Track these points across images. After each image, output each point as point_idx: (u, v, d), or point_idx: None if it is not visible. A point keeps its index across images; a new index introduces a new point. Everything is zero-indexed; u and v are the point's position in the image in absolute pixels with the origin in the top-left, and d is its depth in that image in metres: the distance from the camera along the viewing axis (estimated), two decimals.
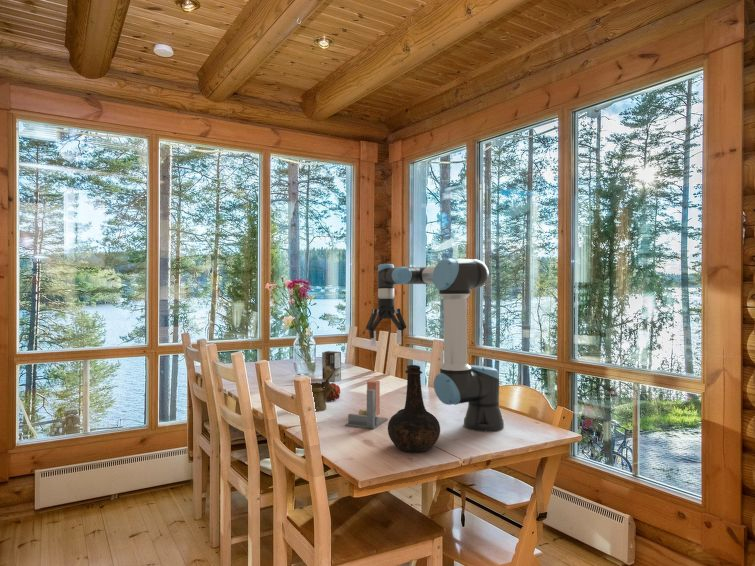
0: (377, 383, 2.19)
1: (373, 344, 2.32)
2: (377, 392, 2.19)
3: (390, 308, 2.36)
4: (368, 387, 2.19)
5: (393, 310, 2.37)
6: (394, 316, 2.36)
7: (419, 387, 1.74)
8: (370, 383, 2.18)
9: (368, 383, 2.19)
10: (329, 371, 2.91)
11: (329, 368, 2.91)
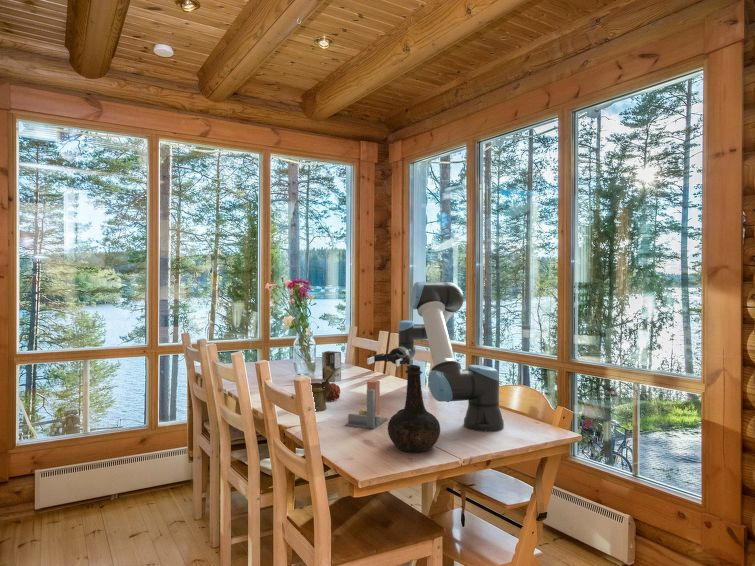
0: (377, 383, 2.19)
1: None
2: (377, 392, 2.19)
3: (398, 354, 2.43)
4: (368, 387, 2.19)
5: (401, 355, 2.41)
6: (399, 355, 2.39)
7: (419, 387, 1.74)
8: (370, 383, 2.18)
9: (368, 383, 2.19)
10: (329, 371, 2.91)
11: (329, 368, 2.91)
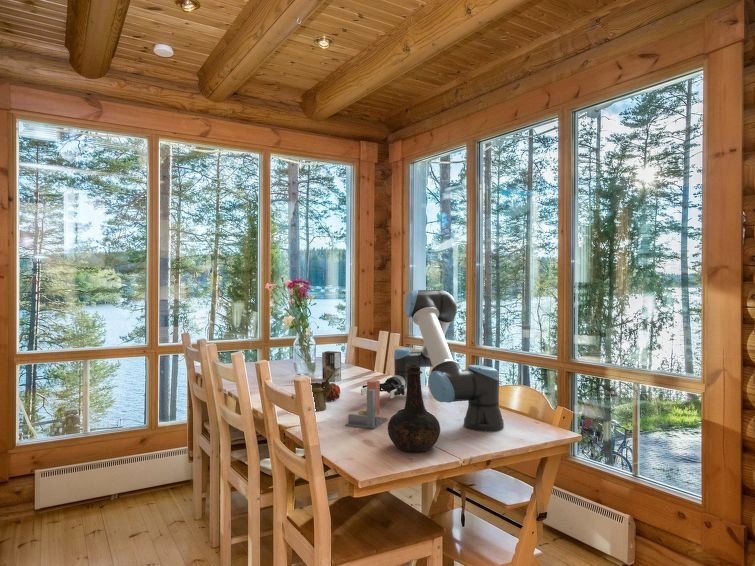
0: (377, 383, 2.19)
1: None
2: (377, 392, 2.19)
3: (393, 384, 2.38)
4: (368, 387, 2.19)
5: (396, 385, 2.37)
6: (394, 384, 2.34)
7: (419, 387, 1.74)
8: (370, 383, 2.18)
9: (368, 383, 2.19)
10: (329, 371, 2.91)
11: (329, 368, 2.91)
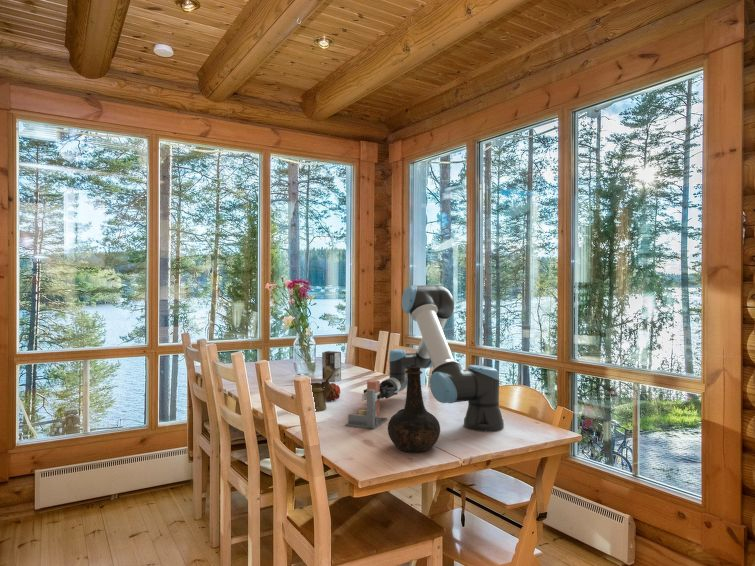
0: (377, 383, 2.19)
1: None
2: (377, 392, 2.19)
3: (390, 386, 2.32)
4: (368, 387, 2.19)
5: (391, 387, 2.30)
6: (386, 387, 2.27)
7: (419, 387, 1.74)
8: (370, 383, 2.18)
9: (368, 383, 2.19)
10: (329, 371, 2.91)
11: (329, 368, 2.91)
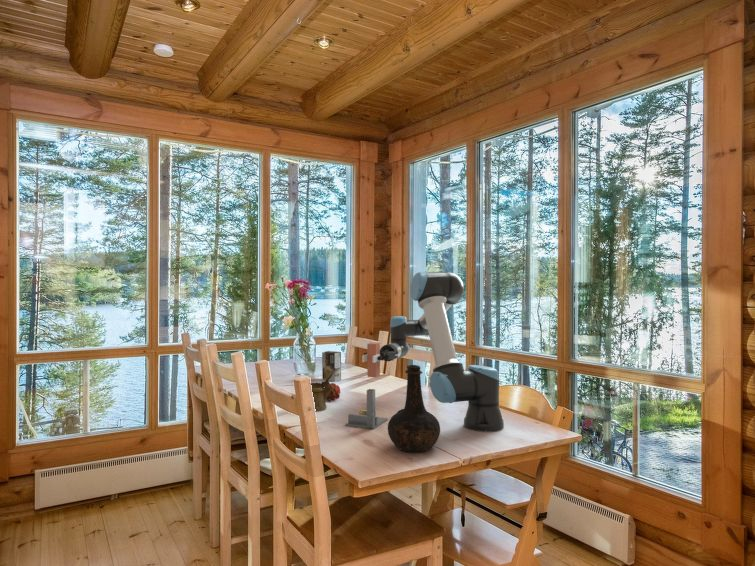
0: (377, 345, 2.20)
1: None
2: (377, 354, 2.20)
3: (391, 351, 2.33)
4: (368, 349, 2.20)
5: (391, 351, 2.31)
6: (386, 351, 2.28)
7: (419, 387, 1.74)
8: (370, 345, 2.19)
9: (368, 345, 2.20)
10: (329, 371, 2.91)
11: (329, 368, 2.91)
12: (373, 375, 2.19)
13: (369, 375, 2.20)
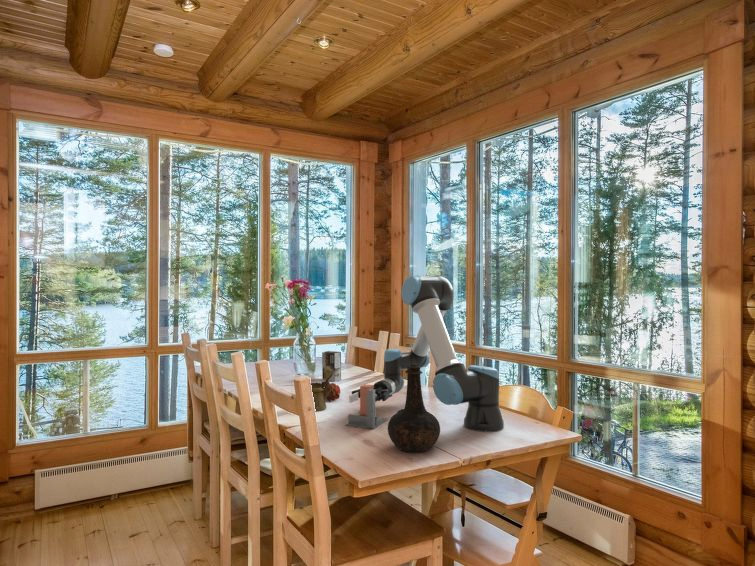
0: (371, 388, 2.06)
1: None
2: None
3: (383, 388, 2.18)
4: (361, 392, 2.05)
5: (384, 389, 2.17)
6: (380, 389, 2.14)
7: (419, 387, 1.74)
8: (363, 388, 2.05)
9: (361, 388, 2.05)
10: (329, 371, 2.91)
11: (329, 368, 2.91)
12: None
13: None
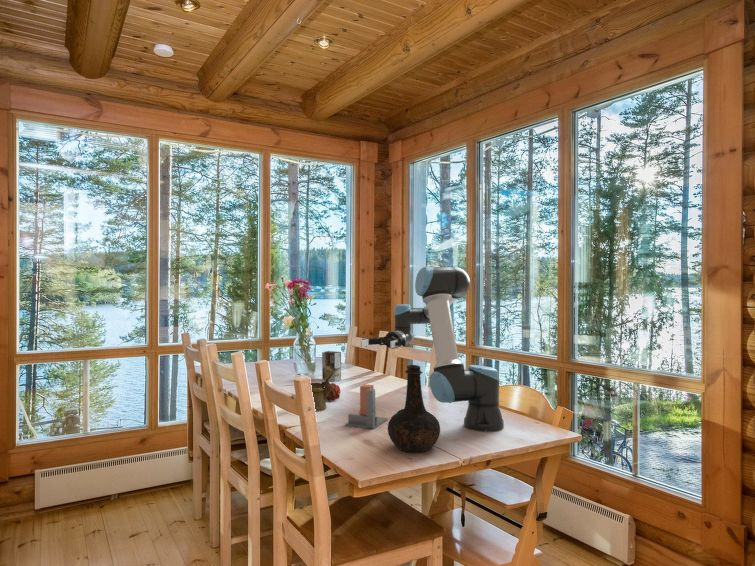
0: (371, 388, 2.06)
1: None
2: None
3: None
4: (361, 392, 2.05)
5: (396, 338, 2.29)
6: (394, 337, 2.26)
7: (419, 387, 1.74)
8: (363, 388, 2.05)
9: (361, 388, 2.05)
10: (329, 371, 2.91)
11: (329, 368, 2.91)
12: None
13: None
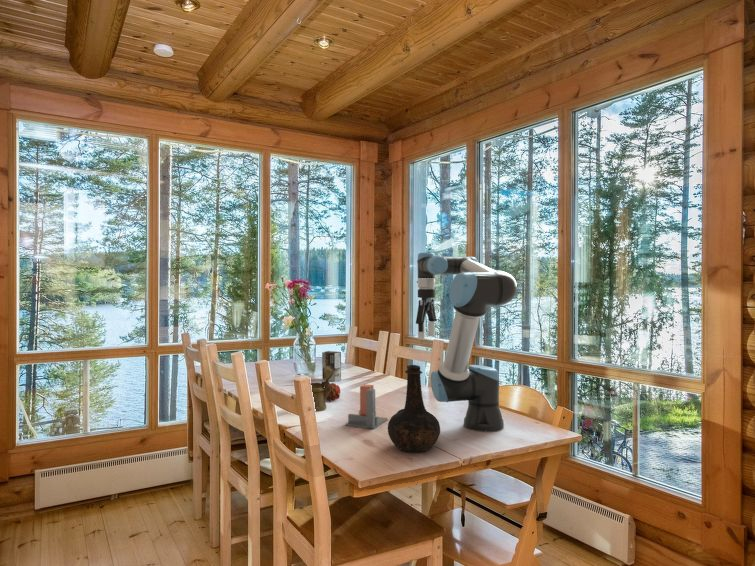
0: (371, 388, 2.06)
1: (422, 338, 2.18)
2: None
3: (430, 299, 2.25)
4: (361, 392, 2.05)
5: (431, 301, 2.27)
6: (432, 307, 2.27)
7: (419, 387, 1.74)
8: (363, 388, 2.05)
9: (361, 388, 2.05)
10: (329, 371, 2.91)
11: (329, 368, 2.91)
12: None
13: None
